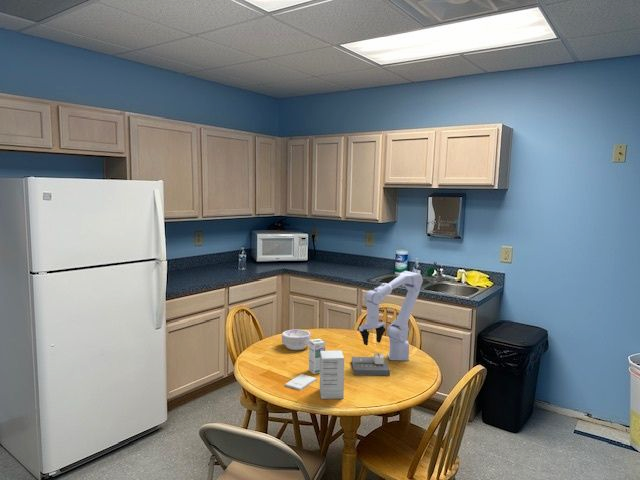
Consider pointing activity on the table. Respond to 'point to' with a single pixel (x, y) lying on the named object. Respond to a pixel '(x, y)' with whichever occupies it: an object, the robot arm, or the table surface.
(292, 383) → the external hard drive
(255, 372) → the table surface
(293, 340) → the paper bowls
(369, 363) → the slide fader panel
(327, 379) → the supplement box
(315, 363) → the syrup box
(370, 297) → the robot arm
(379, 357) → the fader knob
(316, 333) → the table surface
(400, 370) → the table surface
